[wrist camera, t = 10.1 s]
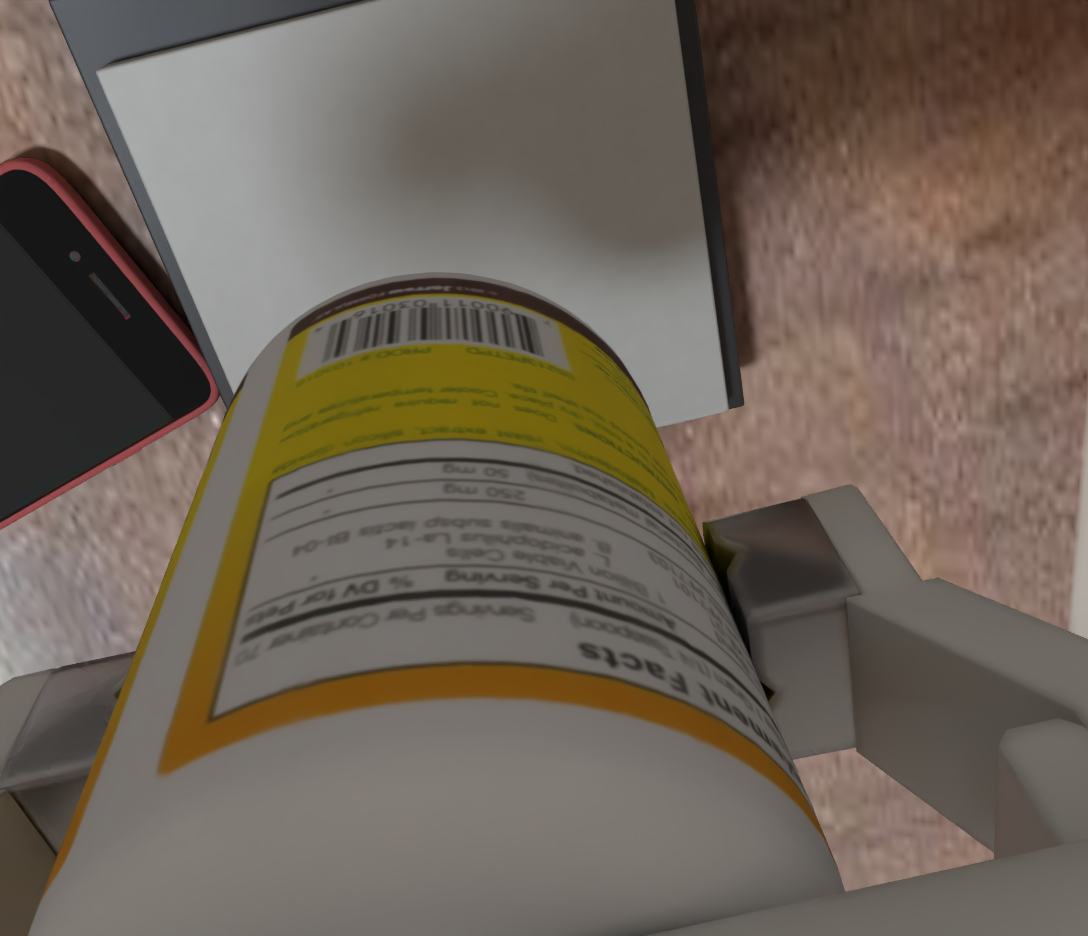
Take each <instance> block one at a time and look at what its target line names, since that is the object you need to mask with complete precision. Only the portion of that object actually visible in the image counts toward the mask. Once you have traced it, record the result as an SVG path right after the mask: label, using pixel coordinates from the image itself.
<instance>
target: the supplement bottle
mask: <svg viewBox="0 0 1088 936" xmlns="http://www.w3.org/2000/svg"><path fill="white" fill-rule="evenodd" d="M842 892H845V890H844V887H843V883H842V880H841V877H840V874H839V871H838V867H837V865H836V862H835V860H834V858H833V855H832V853H831V851H830V848H829V846H828V843H827V841H826V839H825V836H824V834H823V831H822V829H821V827H820V824H819V822H818V820H817V817H816V814H815V811H814V809H813V806H812V804H811V802H810V800H809V798H808V796H807V794H806V792H805V789H804V787H803V784H802V782H801V780H800V777H799V775H798V772H797V769H796V767H795V765H794V762H793V760H792V758H791V756H790V753H789V751H788V748H787V746H786V743H785V741H784V738H783V736H782V734H781V731H780V729H779V726H778V724H777V722H776V719H775V717H774V714H773V712H772V710H771V707H770V705H769V702H768V700H767V698H766V695H765V693H764V690H763V688H762V685H761V683H760V681H759V678H758V676H757V673H756V671H755V668H754V666H753V664H752V661H751V659H750V656H749V654H748V651H747V649H746V646H745V644H744V641H743V639H742V637H741V634H740V632H739V629H738V627H737V624H736V622H735V620H734V617H733V615H732V613H731V610H730V608H729V605H728V602H727V600H726V597H725V594H724V592H723V589H722V587H721V584H720V582H719V579H718V576H717V574H716V572H715V570H714V568H713V565H712V563H711V560H710V558H709V555H708V553H707V550H706V547H705V545H704V543H703V540H702V538H701V535H700V533H699V530H698V528H697V525H696V523H695V520H694V518H693V516H692V514H691V512H690V509H689V507H688V505H687V502H686V500H685V498H684V495H683V493H682V490H681V488H680V485H679V483H678V480H677V478H676V475H675V473H674V470H673V468H672V465H671V463H670V460H669V458H668V455H667V453H666V450H665V448H664V445H663V443H662V440H661V438H660V435H659V433H658V430H657V428H656V426H655V423H654V421H653V419H652V416H651V413H650V410H649V407H648V405H647V403H646V401H645V399H644V397H643V395H642V393H641V391H640V389H639V387H638V386H637V384H636V382H635V381H634V379H633V378H632V376H631V374H630V373H629V371H628V369H627V368H626V366H625V364H624V363H623V362H622V360H621V359H620V358H619V356H618V355H617V354H616V352H615V351H614V350H613V349H612V348H611V347H610V346H609V345H608V344H607V343H606V342H605V341H604V339H603V338H602V337H601V336H600V335H599V334H598V333H596V332H595V331H594V330H593V329H592V328H591V327H590V326H589V325H588V324H586V323H585V322H583V321H582V320H581V319H579V318H578V317H577V316H575V315H574V314H573V313H571V312H570V311H568V310H567V309H565V308H563V307H562V306H560V305H558V304H557V303H555V302H553V301H551V300H549V299H547V298H546V297H544V296H542V295H539V294H537V293H535V292H533V291H530V290H528V289H526V288H523V287H520V286H517V285H515V284H512V283H509V282H505V281H501V280H497V279H493V278H488V277H483V276H477V275H471V274H464V273H449V272H427V273H415V274H407V275H400V276H392V277H388V278H384V279H380V280H376V281H372V282H368V283H365V284H362V285H359V286H356V287H354V288H351V289H348V290H346V291H344V292H341V293H339V294H337V295H335V296H333V297H331V298H329V299H327V300H325V301H324V302H322V303H320V304H318V305H316V306H315V307H313V308H311V309H310V310H308V311H307V312H305V313H304V314H302V315H301V316H299V317H298V318H296V319H295V320H294V321H293V322H291V323H290V324H289V325H288V326H286V327H285V328H284V329H283V330H282V331H281V332H280V333H279V334H277V335H276V336H275V337H274V338H273V339H272V340H271V341H270V342H269V344H268V345H267V346H266V347H265V348H264V349H263V350H262V351H261V353H260V354H259V355H258V356H257V358H256V359H255V360H254V362H253V363H252V364H251V366H250V368H249V369H248V371H247V372H246V374H245V375H244V377H243V379H242V380H241V382H240V384H239V386H238V388H237V390H236V392H235V394H234V396H233V398H232V400H231V402H230V405H229V407H228V409H227V411H226V413H225V416H224V419H223V422H222V425H221V427H220V430H219V432H218V435H217V437H216V440H215V443H214V446H213V449H212V451H211V453H210V456H209V459H208V462H207V464H206V467H205V470H204V473H203V475H202V478H201V480H200V483H199V485H198V488H197V490H196V493H195V496H194V499H193V502H192V504H191V507H190V509H189V512H188V515H187V517H186V520H185V523H184V525H183V528H182V530H181V533H180V536H179V538H178V541H177V544H176V546H175V548H174V551H173V554H172V556H171V559H170V562H169V565H168V567H167V570H166V572H165V575H164V578H163V580H162V583H161V586H160V589H159V591H158V594H157V597H156V599H155V602H154V605H153V607H152V610H151V613H150V615H149V618H148V621H147V623H146V626H145V629H144V631H143V634H142V636H141V639H140V642H139V644H138V647H137V650H136V652H135V655H134V658H133V660H132V663H131V665H130V668H129V671H128V673H127V676H126V679H125V681H124V684H123V687H122V689H121V692H120V694H119V697H118V700H117V703H116V705H115V708H114V710H113V713H112V716H111V718H110V721H109V723H108V726H107V729H106V731H105V734H104V736H103V739H102V742H101V744H100V747H99V750H98V752H97V755H96V757H95V760H94V763H93V765H92V768H91V770H90V773H89V776H88V778H87V781H86V783H85V786H84V789H83V791H82V794H81V796H80V799H79V801H78V804H77V807H76V809H75V812H74V814H73V817H72V819H71V822H70V824H69V827H68V829H67V832H66V834H65V837H64V839H63V842H62V845H61V847H60V850H59V852H58V855H57V857H56V860H55V863H54V865H53V868H52V871H51V874H50V876H49V879H48V882H47V884H46V887H45V890H44V892H43V895H42V898H41V901H40V903H39V906H38V909H37V911H36V914H35V917H34V920H33V922H32V925H31V928H30V931H29V934H28V936H644V935H649V934H653V933H658V932H662V931H667V930H672V929H676V928H681V927H685V926H690V925H695V924H699V923H704V922H709V921H713V920H718V919H722V918H727V917H732V916H736V915H741V914H746V913H750V912H755V911H759V910H764V909H769V908H773V907H778V906H782V905H787V904H792V903H796V902H801V901H806V900H810V899H815V898H819V897H824V896H829V895H833V894H838V893H842Z"/></svg>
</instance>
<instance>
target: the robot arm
mask: <svg viewBox="0 0 1088 936" xmlns="http://www.w3.org/2000/svg"><path fill="white" fill-rule="evenodd" d="M703 536H704V543H705V547H706V550H707V553H708V555H709V558H710V560H711V563H712V565H713V568H714V570H715V572H716V574H717V576H718V579H719V582H720V584H721V587H722V589H723V592H724V594H725V597H726V600H727V602H728V605H729V608H730V610H731V613H732V615H733V617H734V620H735V622H736V624H737V627H738V629H739V632H740V634H741V637H742V639H743V641H744V644H745V646H746V649H747V651H748V654H749V656H750V659H751V661H752V664H753V666H754V668H755V671H756V673H757V676H758V678H759V681H760V683H761V685H762V688H763V690H764V693H765V695H766V698H767V700H768V702H769V705H770V707H771V710H772V712H773V714H774V717H775V719H776V722H777V724H778V726H779V729H780V731H781V734H782V736H783V738H784V741H785V743H786V746H787V748H788V751H789V753H790V756H791V758H792V760H793V759H799V758H804V757H809V756H814V755H819V754H824V753H829V752H835V751H840V750H845V749H850V748H855V747H856V749H857V752H858V753H859V754H861V755H862V756H864V757H865V758H866V759H868V760H869V761H870V762H872V763H873V764H874V765H876V766H877V767H878V768H880V769H881V770H883V771H884V772H885V773H887V774H888V775H889V776H891V777H892V778H893V779H895V780H896V781H897V782H899V783H900V784H901V785H903V786H904V787H906V788H907V789H908V790H910V791H911V792H912V793H914V794H915V795H916V796H918V797H919V798H920V799H922V800H923V801H924V802H926V803H927V804H929V805H930V806H931V807H933V808H934V809H935V810H937V811H938V812H939V813H941V814H942V815H943V816H945V817H946V818H948V819H949V820H950V821H952V822H953V823H954V824H956V825H957V826H958V827H960V828H961V829H962V830H964V831H965V832H966V833H968V834H969V835H971V836H972V837H973V838H975V839H976V840H977V841H979V842H980V843H981V844H983V845H984V846H985V847H987V848H988V849H990V850H991V851H992V852H994V860H989V861H985V862H980V863H975V864H971V865H966V866H962V867H957V868H952V869H948V870H943V871H939V872H934V873H930V874H925V875H920V876H916V877H911V878H907V879H902V880H897V881H893V882H888V883H884V884H879V885H875V886H870V887H865V888H861V889H856V890H852V891H847V892H842V893H838V894H833V895H829V896H824V897H819V898H815V899H810V900H806V901H801V902H796V903H792V904H787V905H782V906H778V907H773V908H769V909H764V910H759V911H755V912H750V913H746V914H741V915H736V916H732V917H727V918H722V919H718V920H713V921H709V922H704V923H699V924H695V925H690V926H685V927H681V928H676V929H672V930H667V931H662V932H658V933H653V934H649V935H644V936H1088V639H1086V638H1084V637H1081V636H1079V635H1076V634H1074V633H1071V632H1069V631H1066V630H1064V629H1062V628H1059V627H1057V626H1054V625H1052V624H1049V623H1047V622H1045V621H1042V620H1040V619H1037V618H1035V617H1032V616H1030V615H1028V614H1025V613H1023V612H1020V611H1018V610H1015V609H1013V608H1010V607H1008V606H1006V605H1003V604H1001V603H998V602H996V601H993V600H991V599H989V598H986V597H984V596H981V595H979V594H976V593H974V592H972V591H969V590H967V589H964V588H962V587H959V586H957V585H954V584H952V583H950V582H947V581H945V580H942V579H940V578H934V579H929V580H925V581H922V579H921V578H920V576H919V575H918V574H917V572H916V571H915V569H914V568H913V566H912V565H911V563H910V562H909V561H908V559H907V558H906V556H905V555H904V553H903V552H902V551H901V549H900V548H899V546H898V545H897V543H896V542H895V540H894V539H893V538H892V536H891V535H890V533H889V532H888V530H887V529H886V528H885V526H884V525H883V523H882V522H881V520H880V519H879V517H878V516H877V515H876V513H875V512H874V510H873V509H872V507H871V506H870V505H869V503H868V502H867V500H866V499H865V497H864V496H863V494H862V493H861V492H860V490H859V489H858V488H857V487H855V486H853V485H851V484H849V485H845V486H841V487H837V488H833V489H830V490H826V491H822V492H818V493H814V494H810V495H807V496H803V497H801V499H797V500H793V501H789V502H785V503H780V504H776V505H772V506H768V507H764V508H759V509H755V510H751V511H747V512H743V513H738V514H734V515H730V516H726V517H722V518H717V519H713V520H709V521H705V522H703ZM135 652H136V651H134V652H130V653H125V654H120V655H115V656H110V657H106V658H101V659H96V660H91V661H86V662H81V663H77V664H72V665H67V666H62V667H60V668H58V669H49V670H45V671H40V672H36V673H32V674H27V675H23V676H18V677H14V678H12V679H11V680H9V681H7V682H6V683H4V684H2V685H1V686H0V936H28V934H29V931H30V928H31V925H32V922H33V920H34V917H35V914H36V911H37V909H38V906H39V903H40V901H41V898H42V895H43V892H44V890H45V887H46V884H47V882H48V879H49V876H50V874H51V871H52V868H53V865H54V863H55V860H56V857H57V855H58V852H59V850H60V847H61V845H62V842H63V839H64V837H65V834H66V832H67V829H68V827H69V824H70V822H71V819H72V817H73V814H74V812H75V809H76V807H77V804H78V801H79V799H80V796H81V794H82V791H83V789H84V786H85V783H86V781H87V778H88V776H89V773H90V770H91V768H92V765H93V763H94V760H95V757H96V755H97V752H98V750H99V747H100V744H101V742H102V739H103V736H104V734H105V731H106V729H107V726H108V723H109V721H110V718H111V716H112V713H113V710H114V708H115V705H116V703H117V700H118V697H119V694H120V692H121V689H122V687H123V684H124V681H125V679H126V676H127V673H128V671H129V668H130V665H131V663H132V660H133V658H134V655H135Z"/></svg>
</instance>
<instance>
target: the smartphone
mask: <svg viewBox="0 0 1088 936" xmlns="http://www.w3.org/2000/svg"><path fill="white" fill-rule="evenodd" d="M219 396H220V393H219V390H218V388H217V386H216V383H215V381H214V379H213V376H212V374H211V372H210V370H209V367H208V365H207V363H206V360H205V358H204V356H203V354H202V351H201V349H200V347H199V344H198V342H197V340H196V338H195V336H194V334H193V333H192V332H191V331H190V330H189V328H188V327H187V326H186V325H185V323H184V322H183V321H182V320H181V319H180V317H179V316H178V315H177V314H176V312H175V311H174V310H173V309H172V308H171V306H170V305H169V304H168V303H167V301H166V300H165V299H164V298H163V297H162V295H161V294H160V293H159V292H158V290H157V289H156V288H155V287H154V286H153V284H152V283H151V282H150V281H149V279H148V278H147V277H146V276H145V275H144V273H143V272H142V271H141V270H140V268H139V267H138V266H137V265H136V264H135V262H134V261H133V260H132V259H131V257H130V256H129V255H128V254H127V253H126V251H125V250H124V249H123V248H122V247H121V245H120V244H119V243H118V242H117V240H116V239H115V238H114V237H113V236H112V234H111V233H110V232H109V231H108V229H107V228H106V227H105V226H104V225H103V223H102V222H101V221H100V220H99V218H98V217H97V216H96V215H95V214H94V212H93V211H92V210H91V209H90V207H89V206H88V205H87V204H86V203H85V201H84V200H83V199H82V198H81V197H80V195H79V194H78V193H77V192H76V191H75V190H74V189H73V187H72V186H71V185H70V184H69V183H68V182H67V181H66V180H65V179H64V178H63V177H62V176H61V175H60V174H59V173H58V172H57V171H56V170H55V169H53V168H52V167H50V166H49V165H48V164H46V163H44V162H42V161H40V160H37V159H34V158H16V159H12V160H9V161H7V162H4V163H2V164H1V165H0V530H1V529H3V528H4V527H6V526H8V525H10V524H11V523H13V522H15V521H17V520H18V519H20V518H22V517H24V516H25V515H27V514H29V513H30V512H32V511H34V510H36V509H37V508H39V507H41V506H43V505H44V504H46V503H48V502H50V501H51V500H53V499H55V498H56V497H58V496H60V495H62V494H63V493H65V492H67V491H69V490H70V489H72V488H74V487H76V486H77V485H79V484H81V483H83V482H84V481H86V480H88V479H89V478H91V477H93V476H95V475H96V474H98V473H100V472H102V471H103V470H105V469H107V468H109V467H110V466H112V465H116V464H117V463H119V462H121V461H123V460H124V459H126V458H128V457H129V456H131V455H133V454H135V453H136V452H138V451H140V450H141V449H142V448H143V447H145V446H147V445H148V444H150V443H152V442H154V441H155V440H157V439H159V438H161V437H162V436H164V435H166V434H168V433H169V432H171V431H173V430H174V429H176V428H178V427H180V426H181V425H183V424H185V423H187V422H188V421H190V420H192V419H193V418H195V417H197V416H198V415H200V414H202V413H203V412H205V411H206V410H208V409H209V408H210V407H211V406H213V405H214V404H215V403H216V401H217V400H218V398H219Z"/></svg>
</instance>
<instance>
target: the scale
mask: <svg viewBox="0 0 1088 936" xmlns="http://www.w3.org/2000/svg"><path fill="white" fill-rule="evenodd" d="M49 3H50V6H51V8H52V10H53V13H54V15H55V17H56V19H57V22H58V24H59V26H60V29H61V31H62V33H63V35H64V38H65V40H66V42H67V45H68V47H69V49H70V51H71V54H72V56H73V58H74V61H75V63H76V65H77V67H78V70H79V72H80V74H81V77H82V79H83V81H84V83H85V86H86V88H87V90H88V93H89V95H90V97H91V100H92V102H93V104H94V106H95V109H96V111H97V113H98V116H99V118H100V120H101V122H102V125H103V127H104V129H105V132H106V134H107V136H108V138H109V141H110V143H111V145H112V148H113V150H114V152H115V154H116V157H117V159H118V161H119V164H120V166H121V168H122V170H123V173H124V175H125V177H126V180H127V182H128V184H129V186H130V189H131V191H132V193H133V196H134V198H135V200H136V203H137V205H138V207H139V209H140V212H141V214H142V216H143V219H144V221H145V223H146V225H147V228H148V230H149V232H150V235H151V237H152V239H153V241H154V244H155V246H156V248H157V251H158V253H159V255H160V257H161V260H162V262H163V264H164V267H165V269H166V271H167V273H168V276H169V278H170V280H171V283H172V285H173V287H174V289H175V292H176V294H177V296H178V299H179V301H180V303H181V306H182V308H183V310H184V312H185V315H186V317H187V319H188V322H189V324H190V326H191V328H192V331H193V333H194V335H195V338H196V340H197V342H198V344H199V347H200V349H201V351H202V354H203V356H204V358H205V360H206V363H207V365H208V367H209V370H210V372H211V374H212V376H213V379H214V381H215V383H216V386H217V388H218V390H219V393H220V395H221V397H222V399H223V402H224V404H225V406H226V409H228V407H229V405H230V402H231V400H232V398H233V396H234V394H235V392H236V390H237V388H238V386H239V384H240V382H241V380H242V379H243V377H244V375H245V374H246V372H247V371H248V369H249V368H250V366H251V364H252V363H253V362H254V360H255V359H256V358H257V356H258V355H259V354H260V353H261V351H262V350H263V349H264V348H265V347H266V346H267V345H268V344H269V342H270V341H271V340H272V339H273V338H274V337H275V336H276V335H277V334H279V333H280V332H281V331H282V330H283V329H284V328H285V327H286V326H288V325H289V324H290V323H291V322H293V321H294V320H295V319H296V318H298V317H299V316H301V315H302V314H304V313H305V312H307V311H308V310H310V309H311V308H313V307H315V306H316V305H318V304H320V303H322V302H324V301H325V300H327V299H329V298H331V297H333V296H335V295H337V294H339V293H341V292H344V291H346V290H348V289H351V288H354V287H356V286H359V285H362V284H365V283H368V282H372V281H376V280H380V279H384V278H388V277H392V276H400V275H407V274H415V273H427V272H449V273H464V274H471V275H477V276H483V277H488V278H493V279H497V280H501V281H505V282H509V283H512V284H515V285H517V286H520V287H523V288H526V289H528V290H530V291H533V292H535V293H537V294H539V295H542V296H544V297H546V298H547V299H549V300H551V301H553V302H555V303H557V304H558V305H560V306H562V307H563V308H565V309H567V310H568V311H570V312H571V313H573V314H574V315H575V316H577V317H578V318H579V319H581V320H582V321H583V322H585V323H586V324H588V325H589V326H590V327H591V328H592V329H593V330H594V331H595V332H596V333H598V334H599V335H600V336H601V337H602V338H603V339H604V341H605V342H606V343H607V344H608V345H609V346H610V347H611V348H612V349H613V350H614V351H615V352H616V354H617V355H618V356H619V358H620V359H621V360H622V362H623V363H624V364H625V366H626V368H627V369H628V371H629V373H630V374H631V376H632V378H633V379H634V381H635V382H636V384H637V386H638V387H639V389H640V391H641V393H642V395H643V397H644V399H645V401H646V403H647V405H648V407H649V410H650V413H651V416H652V419H653V421H654V423H655V426H656V428H658V427H662V426H667V425H671V424H675V423H680V422H684V421H688V420H693V419H697V418H701V417H705V416H710V415H714V414H718V413H723V412H727V411H728V410H729V409H732V408H736V407H741V406H743V405H744V397H743V389H742V381H741V373H740V365H739V357H738V348H737V340H736V332H735V324H734V316H733V308H732V300H731V291H730V283H729V275H728V267H727V259H726V251H725V243H724V234H723V226H722V218H721V210H720V202H719V194H718V186H717V177H716V169H715V161H714V153H713V145H712V137H711V129H710V120H709V112H708V104H707V96H706V88H705V80H704V72H703V63H702V55H701V47H700V39H699V31H698V23H697V15H696V7H695V0H49Z"/></svg>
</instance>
